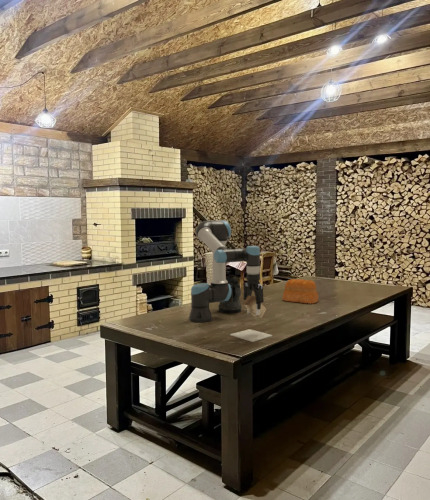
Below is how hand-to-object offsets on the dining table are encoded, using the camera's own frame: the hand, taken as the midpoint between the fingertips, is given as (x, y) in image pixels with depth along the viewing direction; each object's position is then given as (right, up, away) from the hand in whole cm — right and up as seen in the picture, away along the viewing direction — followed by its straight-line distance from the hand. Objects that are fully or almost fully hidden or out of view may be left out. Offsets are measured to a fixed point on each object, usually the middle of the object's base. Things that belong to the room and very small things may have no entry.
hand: (253, 313), depth 250 cm
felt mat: (-1, -13, 0) cm, 13 cm away
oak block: (+4, 0, +4) cm, 5 cm away
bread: (+45, -4, +94) cm, 105 cm away
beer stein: (-10, -7, +63) cm, 64 cm away
